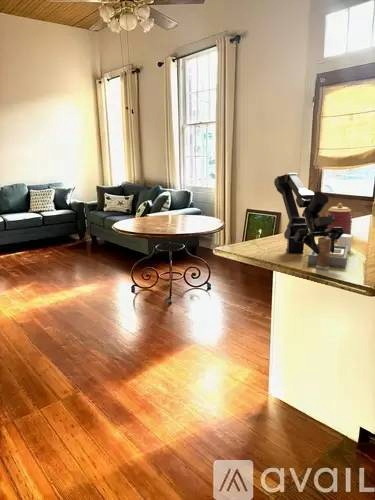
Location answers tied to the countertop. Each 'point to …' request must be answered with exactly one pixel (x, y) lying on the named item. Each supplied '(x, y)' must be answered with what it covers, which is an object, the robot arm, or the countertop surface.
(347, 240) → the white cube
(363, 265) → the countertop surface
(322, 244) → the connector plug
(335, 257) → the walled box
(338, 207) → the canister
